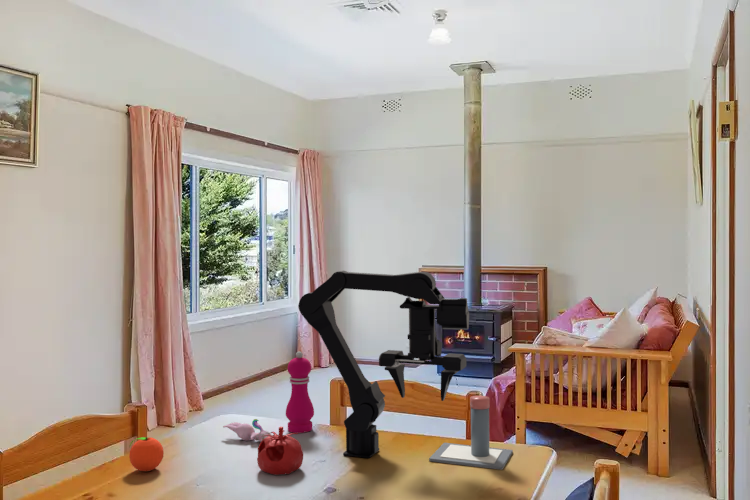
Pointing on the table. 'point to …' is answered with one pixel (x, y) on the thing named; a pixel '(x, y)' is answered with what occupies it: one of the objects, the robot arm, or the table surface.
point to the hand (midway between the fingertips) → (422, 398)
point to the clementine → (146, 454)
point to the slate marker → (479, 426)
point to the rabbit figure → (248, 431)
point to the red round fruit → (279, 454)
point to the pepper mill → (299, 396)
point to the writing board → (470, 456)
